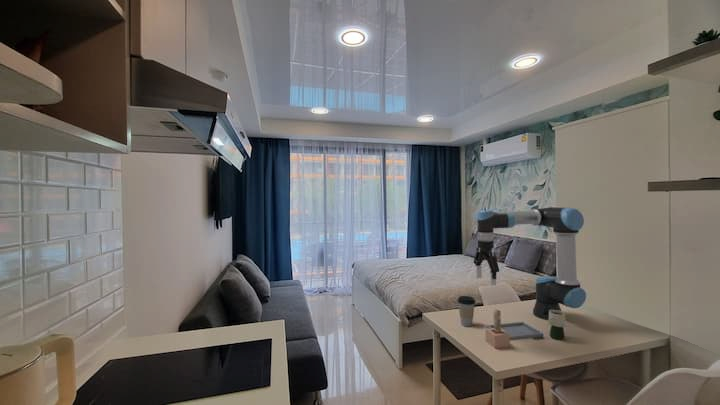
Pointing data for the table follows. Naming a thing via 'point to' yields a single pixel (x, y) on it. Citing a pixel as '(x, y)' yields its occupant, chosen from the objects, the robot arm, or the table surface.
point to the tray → (519, 330)
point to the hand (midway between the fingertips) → (485, 281)
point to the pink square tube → (497, 338)
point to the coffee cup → (466, 310)
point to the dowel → (497, 321)
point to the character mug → (557, 323)
